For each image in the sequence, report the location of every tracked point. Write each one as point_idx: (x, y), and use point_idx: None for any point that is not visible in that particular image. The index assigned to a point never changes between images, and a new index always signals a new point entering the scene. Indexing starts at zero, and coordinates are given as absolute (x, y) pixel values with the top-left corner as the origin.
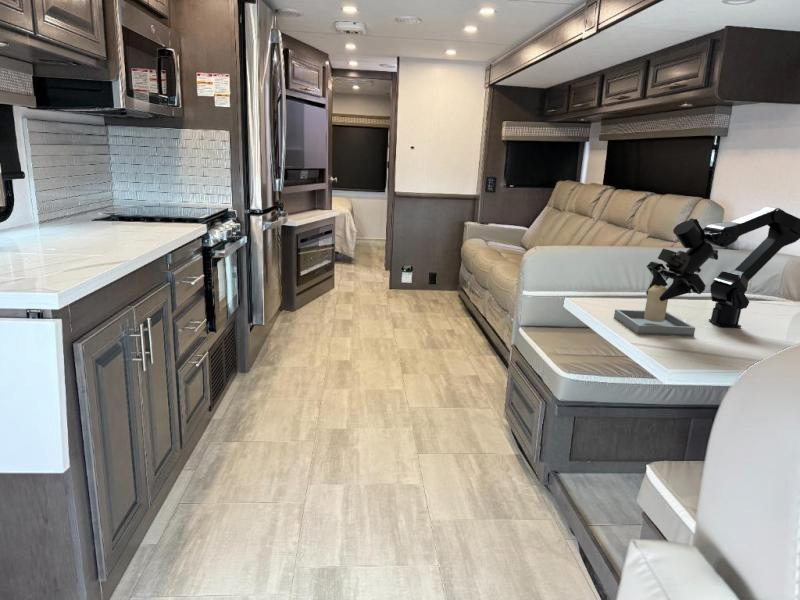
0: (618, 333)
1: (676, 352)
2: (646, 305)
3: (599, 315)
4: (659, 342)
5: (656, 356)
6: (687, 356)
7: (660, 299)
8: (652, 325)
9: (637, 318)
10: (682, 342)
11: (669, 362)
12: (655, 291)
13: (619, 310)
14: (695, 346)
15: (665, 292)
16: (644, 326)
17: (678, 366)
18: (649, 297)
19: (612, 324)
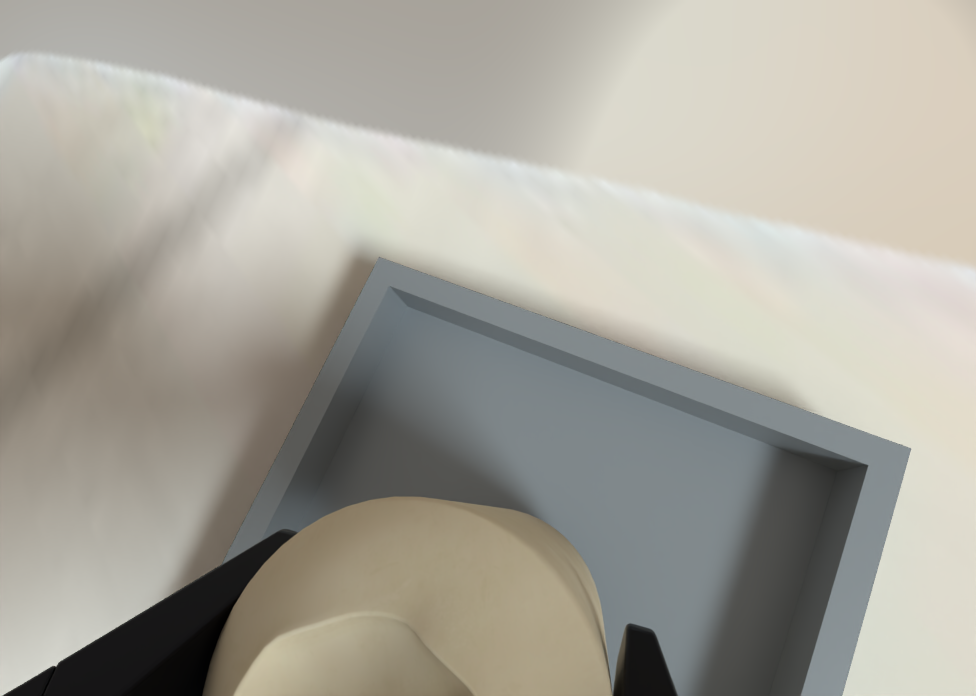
0: (465, 168)
1: (91, 258)
2: (534, 523)
3: (954, 359)
4: (233, 301)
5: (119, 108)
6: (31, 267)
7: (288, 537)
8: (338, 375)
9: (720, 629)
10: (158, 467)
11: (48, 111)
12: (345, 524)
13: (864, 473)
14: (75, 483)
15: (171, 618)
16: (360, 299)
17: (4, 114)
18: (473, 505)
19: (659, 274)
